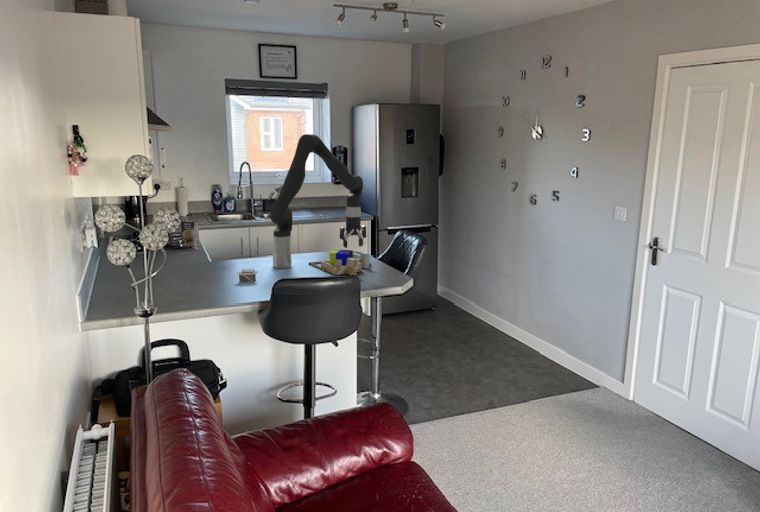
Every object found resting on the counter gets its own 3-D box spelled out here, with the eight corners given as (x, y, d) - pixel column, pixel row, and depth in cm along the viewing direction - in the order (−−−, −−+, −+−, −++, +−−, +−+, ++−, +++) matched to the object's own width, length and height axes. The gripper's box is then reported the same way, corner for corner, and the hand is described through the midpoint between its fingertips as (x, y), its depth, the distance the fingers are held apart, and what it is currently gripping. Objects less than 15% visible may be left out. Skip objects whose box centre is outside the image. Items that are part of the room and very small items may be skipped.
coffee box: (181, 246, 362) (180, 221, 358) (186, 244, 368) (185, 219, 365) (195, 246, 360) (193, 221, 357) (199, 244, 367) (198, 220, 363)
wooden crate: (267, 284, 273) (267, 271, 272) (229, 286, 268) (229, 273, 266) (264, 278, 284) (264, 265, 283) (227, 280, 279) (227, 267, 277)
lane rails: (323, 271, 298) (323, 269, 298) (308, 264, 314) (308, 262, 314) (371, 265, 313) (371, 263, 313) (354, 259, 329) (354, 257, 329)
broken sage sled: (359, 268, 304) (359, 254, 302) (340, 261, 322) (340, 247, 321) (373, 267, 309) (374, 252, 307) (354, 259, 327) (354, 246, 325)
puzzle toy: (347, 272, 296) (347, 253, 294) (329, 271, 298) (329, 252, 296) (352, 268, 305) (352, 250, 303) (334, 267, 307) (334, 249, 305)
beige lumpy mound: (340, 277, 285) (340, 261, 284) (320, 268, 305) (320, 253, 303) (367, 273, 294) (367, 258, 292) (346, 265, 313) (346, 250, 311)
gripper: (344, 217, 278) (344, 249, 281) (369, 215, 285) (368, 247, 288) (337, 215, 284) (337, 246, 287) (361, 213, 291) (361, 244, 295)
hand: (353, 246), depth 288 cm, fingers open, 8 cm apart
